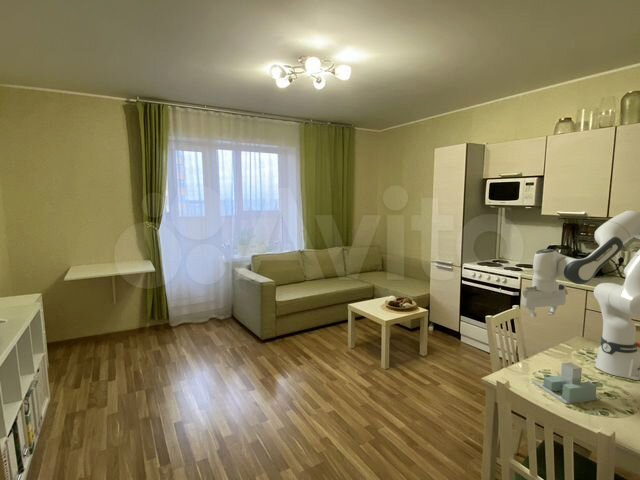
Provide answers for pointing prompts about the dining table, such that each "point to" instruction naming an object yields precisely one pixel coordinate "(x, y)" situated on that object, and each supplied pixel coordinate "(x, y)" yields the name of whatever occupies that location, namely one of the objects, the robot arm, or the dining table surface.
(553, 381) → the block
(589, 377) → the dining table surface
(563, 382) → the steel block
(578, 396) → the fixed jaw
